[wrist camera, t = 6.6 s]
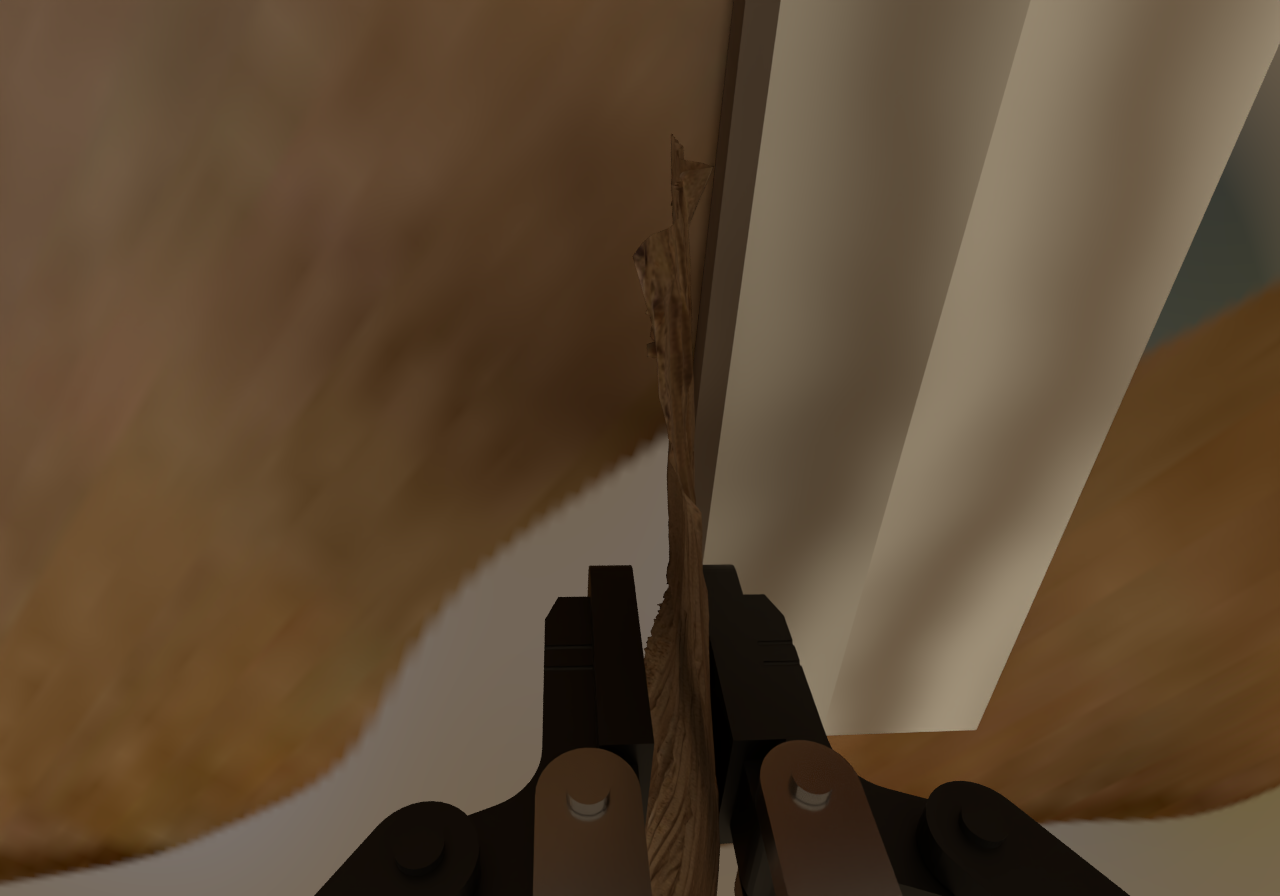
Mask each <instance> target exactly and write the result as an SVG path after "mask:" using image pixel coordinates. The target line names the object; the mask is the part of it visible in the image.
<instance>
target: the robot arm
mask: <svg viewBox="0 0 1280 896" xmlns="http://www.w3.org/2000/svg"><path fill="white" fill-rule="evenodd" d="M703 575H704V579H705V583H706V587H707V590H708V606H709V668H710V700H711V715H712V729H713V743H714V757H715V776H716V781H717V787H718V792H719V799H718V807H719V834H720V844H725V843H733V845H734V850H735V855H736V859H737V864H738V871H737V875H736V880H735V887H734V891H735V896H1130V895H1128V894H1127V893H1126V892H1125V891H1123V890H1122V889H1121V888H1120V887H1118V886H1117V885H1116V884H1114V883H1113V882H1112V881H1111V880H1109V879H1108V878H1107V877H1106V876H1104V875H1103V874H1102V873H1101V872H1099V871H1098V870H1097V869H1095V868H1094V867H1093V866H1092V865H1090V864H1089V863H1088V862H1086V861H1085V860H1084V859H1083V858H1082V857H1080V856H1079V855H1078V854H1076V853H1075V852H1074V851H1073V850H1071V849H1070V848H1069V847H1068V846H1066V845H1065V844H1064V843H1062V842H1061V841H1060V840H1059V839H1057V838H1056V837H1055V836H1054V835H1052V834H1051V833H1049V831H1047V830H1046V829H1045V828H1043V827H1042V826H1041V825H1040V824H1038V823H1037V822H1036V821H1035V820H1033V819H1032V818H1031V817H1029V816H1028V815H1027V814H1026V813H1024V812H1023V811H1022V810H1021V809H1019V808H1018V807H1017V806H1016V805H1014V804H1013V803H1012V802H1010V801H1009V800H1008V799H1006V798H1005V797H1004V796H1002V795H1001V794H999V793H998V792H996V791H994V790H992V789H990V788H988V787H985V786H983V785H980V784H977V783H973V782H967V781H953V782H947V783H945V784H942V785H940V786H939V787H937V788H936V789H935V790H934V791H933V792H932V793H931V794H930V796H929V799H925V798H921V797H917V796H914V795H910V794H906V793H902V792H898V791H895V790H891V789H887V788H884V787H881V786H878V785H875V784H873V783H871V782H868V781H866V780H865V779H863V778H861V777H860V776H858V775H857V773H856V772H855V770H854V769H853V767H852V766H851V765H850V764H849V763H848V761H847V760H846V759H845V758H843V757H842V756H841V755H840V754H839V753H837V752H836V751H834V750H833V749H832V748H831V746H830V743H829V741H828V739H827V736H826V733H825V730H824V727H823V725H822V722H821V719H820V716H819V713H818V710H817V708H816V705H815V702H814V699H813V696H812V693H811V691H810V688H809V685H808V682H807V679H806V676H805V674H804V671H803V668H802V665H801V666H800V659H799V657H798V654H797V651H796V648H795V645H793V640H792V637H791V634H790V631H789V628H788V625H787V623H786V620H785V617H784V615H783V614H782V613H781V612H780V611H779V610H778V608H777V607H776V606H775V605H774V604H773V603H772V602H771V601H770V600H769V599H768V597H767V596H766V595H765V594H743V592H742V588H741V585H740V582H739V578H738V575H737V572H736V569H735V567H734V565H732V564H716V565H703ZM653 752H654V736H653V728H652V720H651V712H650V704H649V696H648V688H647V680H646V672H645V664H644V656H643V648H642V640H641V632H640V624H639V616H638V609H637V601H636V592H635V584H634V576H633V569H632V566H631V565H624V566H623V565H621V566H620V565H616V566H589V574H588V597H558V599H557V600H556V602H555V604H554V605H553V607H552V609H551V610H550V612H549V614H548V616H547V617H546V619H545V651H544V694H543V741H542V757H541V761H540V764H539V767H538V769H537V771H536V773H535V775H534V776H533V778H532V779H531V781H530V782H529V783H528V784H527V785H526V786H525V787H524V788H523V789H522V790H521V791H520V792H519V793H518V794H516V795H515V796H514V797H512V798H510V799H508V800H507V801H505V802H503V803H500V804H498V805H496V806H493V807H490V808H487V809H485V810H482V811H479V812H477V813H474V814H471V815H468V816H467V815H466V814H465V813H464V812H463V811H461V810H460V809H459V808H457V807H455V806H452V805H450V804H447V803H443V802H435V801H428V802H420V803H415V804H411V805H409V806H406V807H404V808H401V809H400V810H398V811H396V812H394V813H393V814H391V815H390V816H388V817H387V818H386V819H385V820H383V821H382V822H381V823H380V824H379V825H378V826H377V827H376V828H375V829H374V830H373V832H372V833H371V834H370V835H369V836H368V837H367V838H366V839H365V840H364V842H363V843H362V844H361V845H360V846H359V847H358V848H357V849H356V850H355V851H354V853H353V854H352V855H351V856H350V857H349V858H348V859H347V860H346V862H344V864H343V865H342V866H341V867H340V868H339V869H338V870H337V871H336V872H335V873H334V875H333V876H332V877H331V878H330V879H329V880H328V881H327V882H326V883H325V885H324V886H323V887H322V888H321V889H320V890H319V891H318V892H317V893H316V894H315V895H314V896H652V889H651V880H650V871H649V862H648V852H647V843H646V834H645V824H646V815H647V806H648V797H649V788H650V779H651V770H652V761H653Z"/></svg>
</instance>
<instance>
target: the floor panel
mask: <svg viewBox="0 0 1280 896" xmlns="http://www.w3.org/2000/svg"><path fill="white" fill-rule="evenodd" d="M1279 44H1280V0H734V1H733V10H732V19H731V28H730V38H729V47H728V56H727V65H726V74H725V83H724V92H723V101H722V110H721V119H720V128H719V137H718V146H717V155H716V164H715V173H714V182H713V191H712V200H711V209H710V218H709V227H708V236H707V245H706V254H705V263H704V272H703V281H702V290H701V299H700V308H699V317H698V326H697V335H696V344H695V353H694V362H693V376H694V412H695V438H694V467H695V485H694V490H695V497H696V506H697V507H698V508H699V510H700V511H701V517H702V564H703V565H716V564H732V565H734V567H735V569H736V572H737V575H738V578H739V582H740V585H741V588H742V592H743V594H765V595H766V596H767V597H768V599H769V600H770V601H771V602H772V603H773V604H774V605H775V606H776V607H777V608H778V610H779V611H780V612H781V613H782V614H783V615H784V617H785V620H786V623H787V625H788V628H789V631H790V634H791V637H792V640H793V645H795V648H796V651H797V654H798V657H799V659H800V666H801V665H802V668H803V671H804V674H805V676H806V679H807V682H808V685H809V688H810V691H811V693H812V696H813V699H814V702H815V705H816V708H817V710H818V713H819V716H820V719H821V722H822V725H823V727H824V730H825V733H826V735H852V734H878V733H904V732H931V731H957V730H976V729H977V727H978V725H979V722H980V720H981V718H982V716H983V713H984V711H985V709H986V707H987V704H988V702H989V700H990V697H991V695H992V693H993V691H994V688H995V686H996V684H997V682H998V679H999V677H1000V675H1001V673H1002V670H1003V668H1004V666H1005V664H1006V661H1007V659H1008V657H1009V654H1010V652H1011V650H1012V648H1013V645H1014V643H1015V641H1016V639H1017V636H1018V634H1019V632H1020V630H1021V627H1022V625H1023V623H1024V621H1025V618H1026V616H1027V614H1028V611H1029V609H1030V607H1031V605H1032V602H1033V600H1034V598H1035V596H1036V593H1037V591H1038V589H1039V587H1040V584H1041V582H1042V580H1043V578H1044V575H1045V573H1046V571H1047V568H1048V566H1049V564H1050V562H1051V559H1052V557H1053V555H1054V553H1055V550H1056V548H1057V546H1058V544H1059V541H1060V539H1061V537H1062V535H1063V532H1064V530H1065V528H1066V525H1067V523H1068V521H1069V519H1070V516H1071V514H1072V512H1073V510H1074V507H1075V505H1076V503H1077V501H1078V498H1079V496H1080V494H1081V492H1082V489H1083V487H1084V485H1085V482H1086V480H1087V478H1088V476H1089V473H1090V471H1091V469H1092V467H1093V464H1094V462H1095V460H1096V458H1097V455H1098V453H1099V451H1100V449H1101V446H1102V444H1103V442H1104V440H1105V437H1106V435H1107V433H1108V430H1109V428H1110V426H1111V424H1112V421H1113V419H1114V417H1115V415H1116V412H1117V410H1118V408H1119V406H1120V403H1121V401H1122V399H1123V397H1124V394H1125V392H1126V390H1127V387H1128V385H1129V383H1130V381H1131V378H1132V376H1133V374H1134V372H1135V369H1136V367H1137V365H1138V363H1139V360H1140V358H1141V356H1142V354H1143V351H1144V349H1145V347H1146V344H1147V342H1148V340H1149V338H1150V335H1151V333H1152V331H1153V329H1154V326H1155V324H1156V322H1157V320H1158V317H1159V315H1160V313H1161V310H1162V308H1163V306H1164V304H1165V301H1166V299H1167V297H1168V295H1169V292H1170V290H1171V288H1172V286H1173V283H1174V281H1175V279H1176V277H1177V274H1178V272H1179V270H1180V268H1181V265H1182V263H1183V261H1184V258H1185V256H1186V254H1187V252H1188V249H1189V247H1190V245H1191V243H1192V240H1193V238H1194V236H1195V233H1196V231H1197V229H1198V227H1199V225H1200V222H1201V220H1202V218H1203V215H1204V213H1205V211H1206V209H1207V206H1208V204H1209V202H1210V199H1211V197H1212V195H1213V193H1214V190H1215V188H1216V186H1217V184H1218V182H1219V179H1220V177H1221V175H1222V172H1223V170H1224V168H1225V166H1226V163H1227V161H1228V159H1229V156H1230V154H1231V152H1232V150H1233V148H1234V145H1235V143H1236V141H1237V139H1238V136H1239V134H1240V132H1241V129H1242V127H1243V125H1244V123H1245V120H1246V118H1247V116H1248V114H1249V111H1250V109H1251V107H1252V105H1253V102H1254V100H1255V98H1256V95H1257V93H1258V91H1259V89H1260V87H1261V84H1262V82H1263V80H1264V77H1265V75H1266V73H1267V71H1268V68H1269V66H1270V64H1271V61H1272V59H1273V57H1274V55H1275V53H1276V50H1277V48H1278V46H1279Z"/></svg>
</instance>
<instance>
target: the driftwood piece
mask: <svg viewBox="0 0 1280 896" xmlns="http://www.w3.org/2000/svg"><path fill="white" fill-rule="evenodd" d="M713 167H714V166H710V165H707V164H704V163H699V162H694V161H686V160H684V152H683V146H682V145H680V144H679V142H678V140H676V139H675V137H673V134H671V173H672V179H671V191H672V203H671V205H672V206H673V209H672V216H673V225H672V226H671V227H670V228H668V229H666V230H663V231H661V232H658V233H656V234H653V235H651V236H650V237H649V238H647V239H646V240H645V241H644V242H643V243H642V244H641V246H640V247H639V248H638V250H637V251H636V253H635V254H634V255H633V259H634V263H635V266H636V270H637V273H638V276H639V280H640V283H641V287H642V290H643V294H644V298H645V302H646V306H647V310H646V314H648V315H649V316H650V318H651V322H652V327H651V334H650V337H651V338H652V339H653V340H654V341H655V342H652V343H649V344H647V354H648V357H652V358H657V371H658V389H659V399H660V402H661V406H662V409H663V413H664V416H665V421H666V425H667V431H668V439H669V450H668V465H667V491H668V492H667V493H668V515H669V521H668V523H669V524H668V526H669V563H668V567H667V574H666V578H667V584H669V588H668V589H667V591H665V593H664V596H663V598H665V599H664V601H663V603H661V604H658V605H659V606H660V610H658V612H659V614H658V615H657V616H656V619H654V626H653V627H652V630H651V635H652V637H648V641H647V642H646V643H647V647H646V648H645V649H644V650H645V652H646V653H645V658H644V664H645V672H646V680H647V688H648V696H649V704H650V712H651V720H652V728H653V736H654V752H653V761H652V770H651V779H650V788H649V797H648V806H647V815H646V824H645V834H646V843H647V852H648V862H649V871H650V880H651V889H652V896H717V885H718V872H719V856H720V834H719V807H718V799H719V792H718V787H717V781H716V776H715V757H714V743H713V729H712V715H711V700H710V668H709V606H708V590H707V587H706V583H705V579H704V575H703V564H702V517H701V511H700V510H699V508H698V507H697V506H696V497H695V490H694V485H695V467H694V438H695V412H694V376H693V352H692V302H691V295H690V248H689V232H688V227H689V225H690V222H691V219H692V216H693V214H694V211H695V209H696V207H697V204H698V202H699V200H700V197H701V195H702V193H703V190H704V188H705V186H706V183H707V181H708V179H709V176H710V174H711V172H712V169H713Z"/></svg>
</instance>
